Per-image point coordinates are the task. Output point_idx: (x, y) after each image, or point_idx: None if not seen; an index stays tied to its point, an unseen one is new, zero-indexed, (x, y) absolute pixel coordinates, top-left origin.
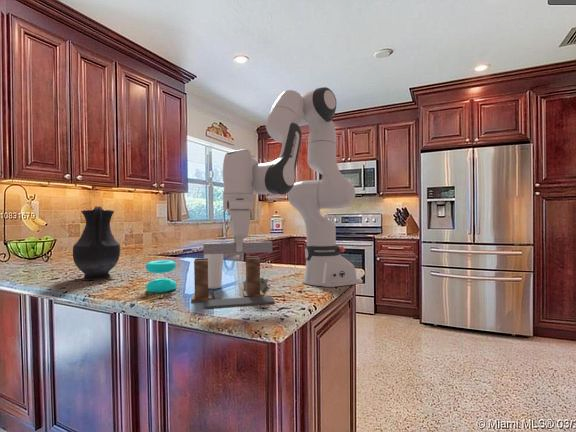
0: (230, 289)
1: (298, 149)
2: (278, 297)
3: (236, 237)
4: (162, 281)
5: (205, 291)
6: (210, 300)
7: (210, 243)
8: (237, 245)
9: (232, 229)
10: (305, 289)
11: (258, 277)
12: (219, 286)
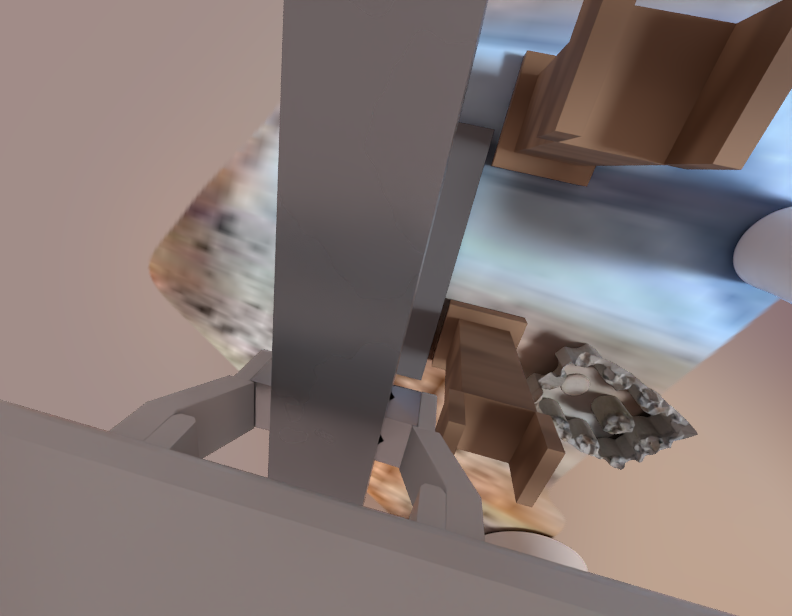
0: (658, 305)
1: None
2: None
3: (120, 429)
4: None
5: (524, 134)
6: (472, 155)
7: (330, 88)
8: (229, 384)
9: (144, 553)
10: None
11: (445, 396)
12: (735, 269)
